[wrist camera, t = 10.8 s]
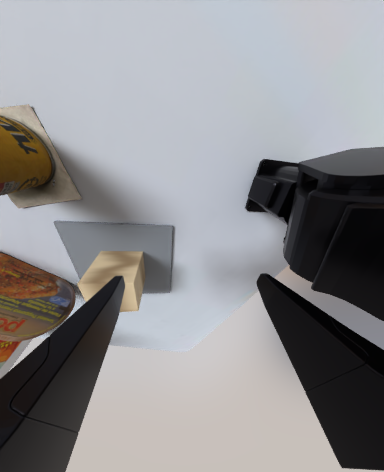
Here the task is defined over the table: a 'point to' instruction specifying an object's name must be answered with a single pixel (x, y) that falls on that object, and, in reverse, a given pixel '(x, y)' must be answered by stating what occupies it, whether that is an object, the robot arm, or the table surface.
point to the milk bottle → (10, 354)
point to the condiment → (30, 161)
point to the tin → (31, 300)
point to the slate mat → (121, 247)
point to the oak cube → (116, 265)
